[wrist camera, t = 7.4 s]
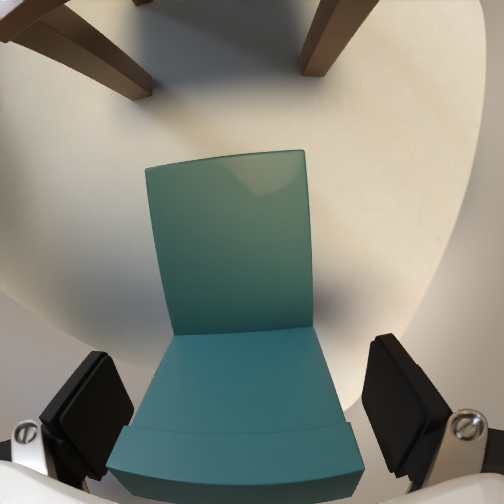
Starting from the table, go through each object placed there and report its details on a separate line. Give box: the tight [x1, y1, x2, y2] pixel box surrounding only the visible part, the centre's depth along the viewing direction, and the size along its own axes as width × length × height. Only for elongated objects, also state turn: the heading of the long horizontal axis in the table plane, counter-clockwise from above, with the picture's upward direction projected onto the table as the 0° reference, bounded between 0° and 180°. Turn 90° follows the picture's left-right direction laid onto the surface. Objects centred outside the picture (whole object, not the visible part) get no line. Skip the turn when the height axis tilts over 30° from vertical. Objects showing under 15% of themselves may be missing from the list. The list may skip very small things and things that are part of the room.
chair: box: [106, 150, 365, 504], centre depth 10 cm, size 8×6×13 cm
